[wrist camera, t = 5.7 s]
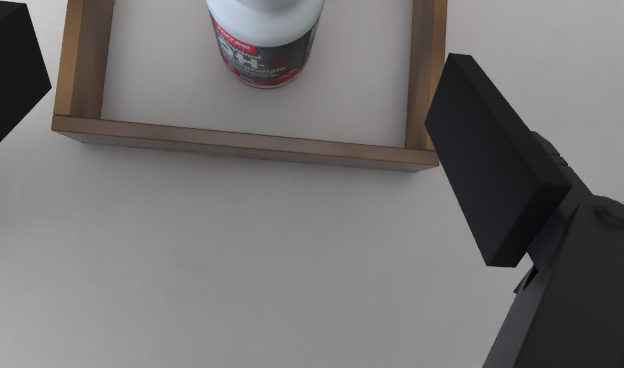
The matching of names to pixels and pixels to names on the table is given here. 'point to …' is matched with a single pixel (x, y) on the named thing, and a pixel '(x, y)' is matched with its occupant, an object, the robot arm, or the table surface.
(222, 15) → the pill bottle
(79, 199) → the table surface
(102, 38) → the wooden frame
